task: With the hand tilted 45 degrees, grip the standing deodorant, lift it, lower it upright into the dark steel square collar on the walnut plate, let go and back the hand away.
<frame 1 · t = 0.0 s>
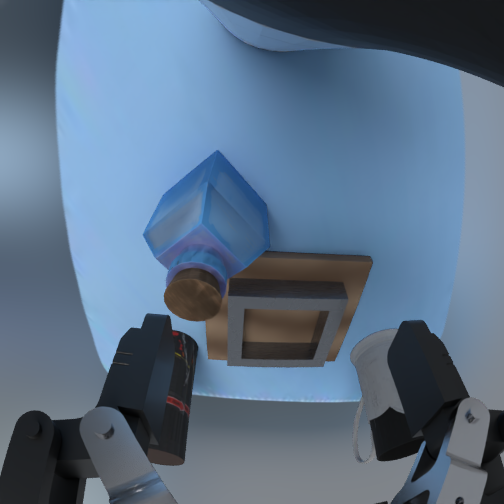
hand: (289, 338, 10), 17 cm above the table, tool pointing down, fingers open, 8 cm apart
deodorant: (174, 343, 38), on the table
locating plate: (280, 312, 34), on the table
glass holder: (369, 360, 41), on the table
perfume bottle: (214, 198, 27), on the table
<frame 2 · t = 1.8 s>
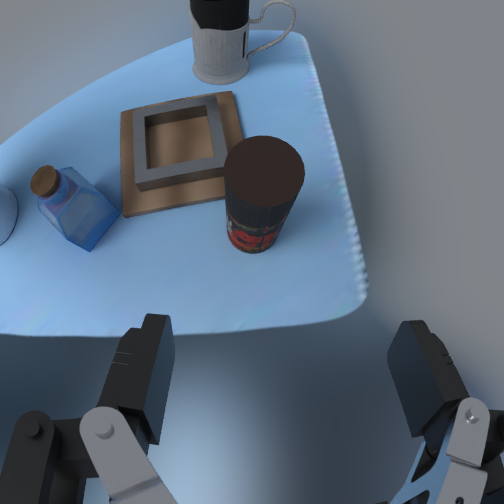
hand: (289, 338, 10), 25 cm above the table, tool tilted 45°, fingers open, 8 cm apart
deodorant: (252, 229, 37), on the table
locating plate: (181, 149, 39), on the table
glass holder: (238, 67, 43), on the table
perfume bottle: (90, 219, 37), on the table
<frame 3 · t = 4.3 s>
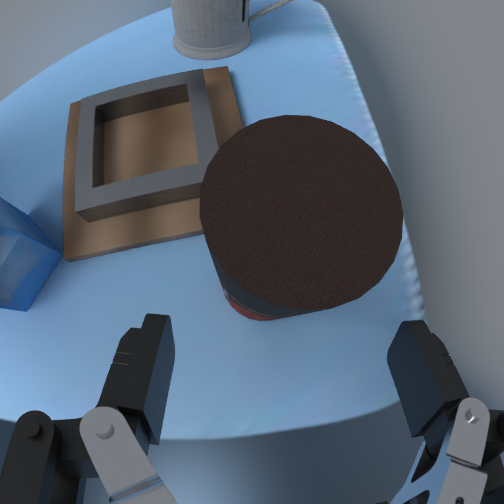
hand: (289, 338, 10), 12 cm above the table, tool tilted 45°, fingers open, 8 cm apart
deodorant: (262, 280, 23), on the table
locating plate: (150, 153, 25), on the table
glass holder: (236, 38, 29), on the table
perfume bottle: (26, 262, 23), on the table
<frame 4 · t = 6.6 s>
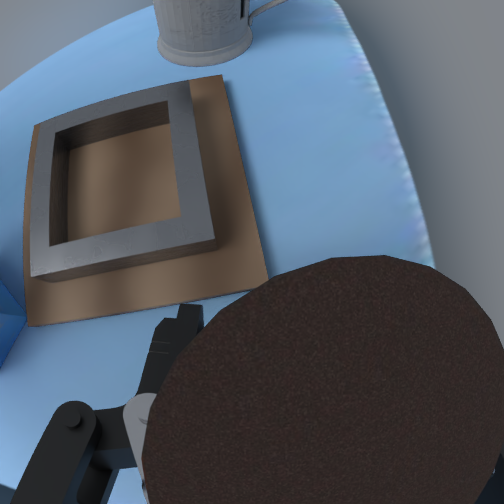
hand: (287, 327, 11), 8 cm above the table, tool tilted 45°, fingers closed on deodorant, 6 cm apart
deodorant: (265, 360, 18), on the table, touching gripper
locating plate: (124, 191, 20), on the table
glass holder: (234, 39, 24), on the table
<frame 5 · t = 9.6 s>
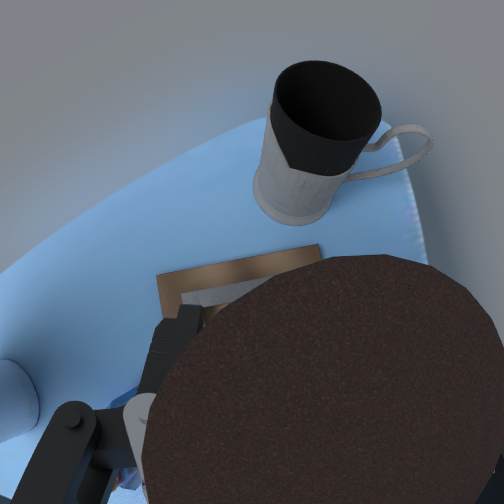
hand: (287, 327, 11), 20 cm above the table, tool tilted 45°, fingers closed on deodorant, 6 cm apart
deodorant: (265, 360, 18), point 12 cm above the table, touching gripper
locating plate: (254, 342, 30), on the table
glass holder: (318, 190, 34), on the table
perfume bottle: (142, 427, 27), on the table
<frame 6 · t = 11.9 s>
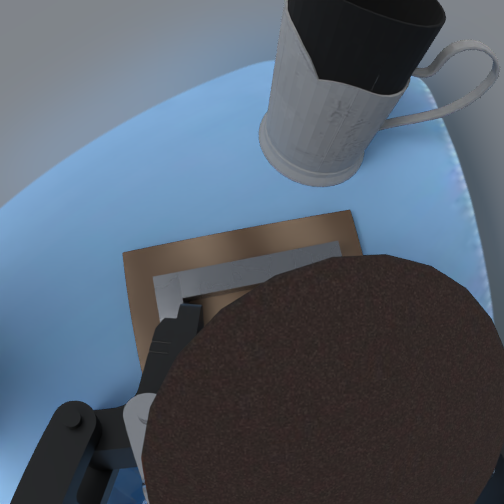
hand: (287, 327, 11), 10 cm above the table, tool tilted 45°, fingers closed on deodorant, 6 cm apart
deodorant: (265, 360, 18), point 2 cm above the table, touching gripper
locating plate: (262, 349, 20), on the table
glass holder: (344, 144, 24), on the table
perfume bottle: (109, 461, 18), on the table
when the fingers open (10 cm above the table, at t = 12.6 s): deodorant drops 1 cm, resting on locating plate.
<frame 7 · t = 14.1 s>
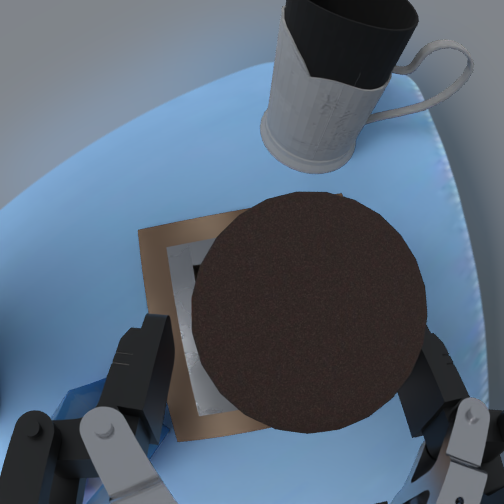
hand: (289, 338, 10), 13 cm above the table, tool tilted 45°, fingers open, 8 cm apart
deodorant: (264, 324, 22), point 1 cm above the table, touching locating plate
locating plate: (263, 317, 23), on the table
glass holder: (337, 136, 27), on the table
perfume bottle: (118, 429, 20), on the table
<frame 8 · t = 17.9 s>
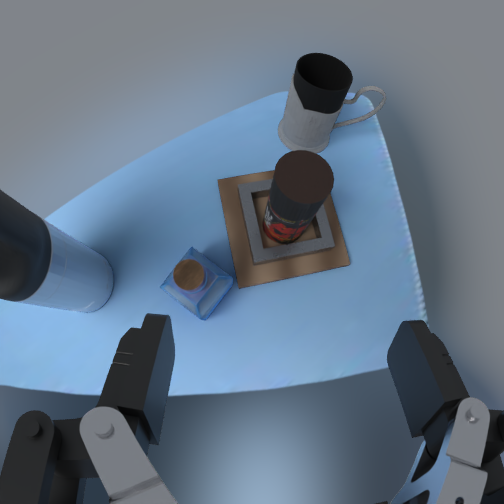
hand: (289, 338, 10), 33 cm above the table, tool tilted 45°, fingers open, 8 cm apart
deodorant: (283, 224, 45), point 1 cm above the table, touching locating plate
locating plate: (282, 222, 46), on the table
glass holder: (319, 135, 50), on the table
perfume bottle: (201, 288, 43), on the table
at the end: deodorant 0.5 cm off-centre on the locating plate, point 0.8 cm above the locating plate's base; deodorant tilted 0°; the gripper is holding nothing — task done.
